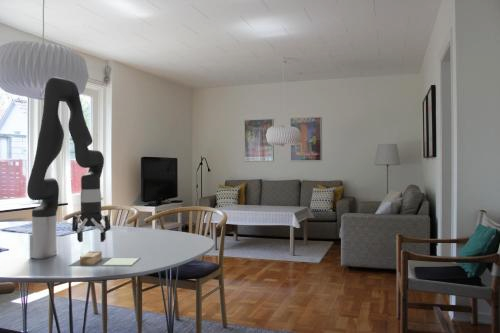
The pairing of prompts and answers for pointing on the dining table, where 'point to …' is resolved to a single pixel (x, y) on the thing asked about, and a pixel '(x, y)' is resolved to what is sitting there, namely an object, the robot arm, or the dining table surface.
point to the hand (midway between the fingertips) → (91, 241)
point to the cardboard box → (91, 257)
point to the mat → (111, 262)
